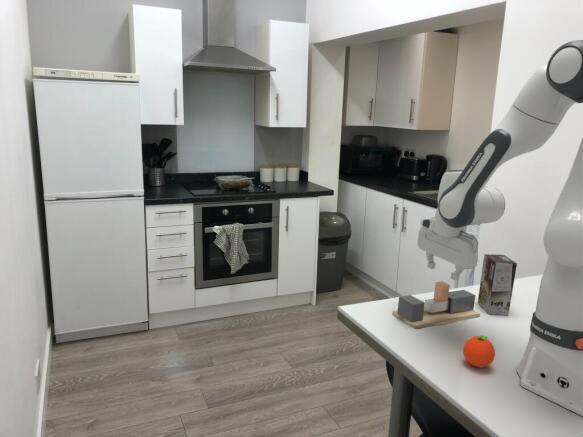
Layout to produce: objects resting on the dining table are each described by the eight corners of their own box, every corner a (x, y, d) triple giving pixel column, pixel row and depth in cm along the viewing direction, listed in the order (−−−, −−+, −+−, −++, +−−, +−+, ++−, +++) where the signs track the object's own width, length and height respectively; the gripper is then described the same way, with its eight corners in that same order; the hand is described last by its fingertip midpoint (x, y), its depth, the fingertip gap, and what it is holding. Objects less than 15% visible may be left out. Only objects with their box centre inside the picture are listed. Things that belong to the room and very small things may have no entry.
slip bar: (470, 306, 141) (474, 281, 139) (431, 313, 134) (434, 287, 132) (462, 302, 143) (466, 277, 141) (423, 309, 136) (427, 283, 135)
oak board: (480, 316, 138) (480, 313, 138) (415, 328, 128) (416, 325, 127) (454, 303, 147) (455, 300, 147) (392, 314, 136) (392, 311, 136)
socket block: (422, 320, 131) (424, 302, 130) (411, 322, 129) (413, 304, 128) (408, 311, 136) (410, 294, 135) (397, 313, 134) (399, 296, 133)
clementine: (468, 353, 116) (472, 326, 114) (498, 363, 112) (502, 335, 110) (456, 365, 110) (460, 336, 108) (487, 376, 106) (491, 347, 104)
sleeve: (473, 309, 140) (475, 295, 139) (450, 313, 136) (452, 298, 135) (461, 303, 144) (463, 289, 143) (439, 307, 140) (441, 293, 139)
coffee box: (509, 315, 140) (518, 263, 136) (487, 314, 140) (495, 262, 137) (497, 303, 149) (504, 254, 145) (476, 302, 149) (483, 253, 145)
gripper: (487, 236, 124) (478, 285, 128) (433, 217, 142) (427, 261, 145) (470, 237, 122) (461, 288, 125) (417, 218, 139) (410, 262, 143)
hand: (442, 273), depth 135 cm, fingers open, 8 cm apart
